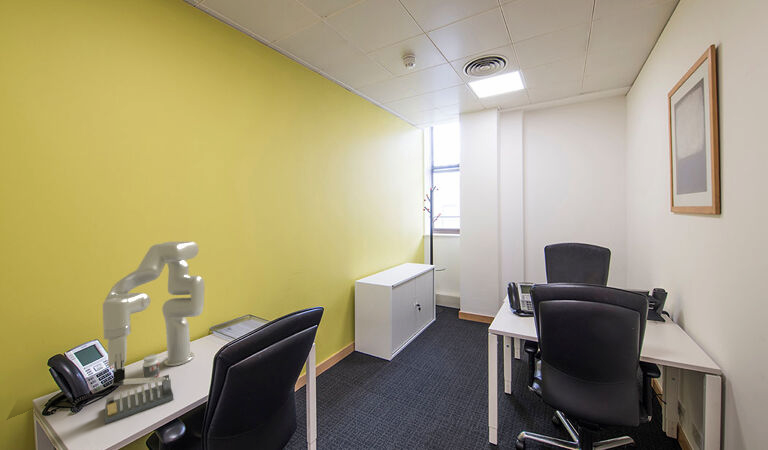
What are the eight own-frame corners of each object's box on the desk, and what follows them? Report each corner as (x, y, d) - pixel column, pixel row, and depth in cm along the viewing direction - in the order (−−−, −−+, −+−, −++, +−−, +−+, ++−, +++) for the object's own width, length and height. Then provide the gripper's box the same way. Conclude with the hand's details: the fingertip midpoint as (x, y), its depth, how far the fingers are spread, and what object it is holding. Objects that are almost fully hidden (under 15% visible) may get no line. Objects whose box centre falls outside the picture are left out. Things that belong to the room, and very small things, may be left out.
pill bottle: (161, 376, 137) (160, 355, 136) (147, 383, 132) (145, 361, 131) (155, 373, 140) (154, 352, 139) (141, 379, 135) (139, 358, 134)
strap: (166, 378, 125) (167, 376, 125) (168, 382, 122) (169, 380, 122) (112, 381, 113) (113, 378, 113) (112, 385, 110) (113, 383, 110)
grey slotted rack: (105, 408, 115) (104, 390, 115) (169, 386, 129) (168, 371, 128) (105, 424, 106) (103, 405, 106) (173, 399, 120) (172, 382, 119)
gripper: (104, 329, 115) (106, 376, 116) (103, 340, 104) (105, 392, 104) (129, 324, 120) (131, 369, 121) (131, 334, 109) (133, 384, 109)
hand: (119, 380), depth 113 cm, fingers closed
